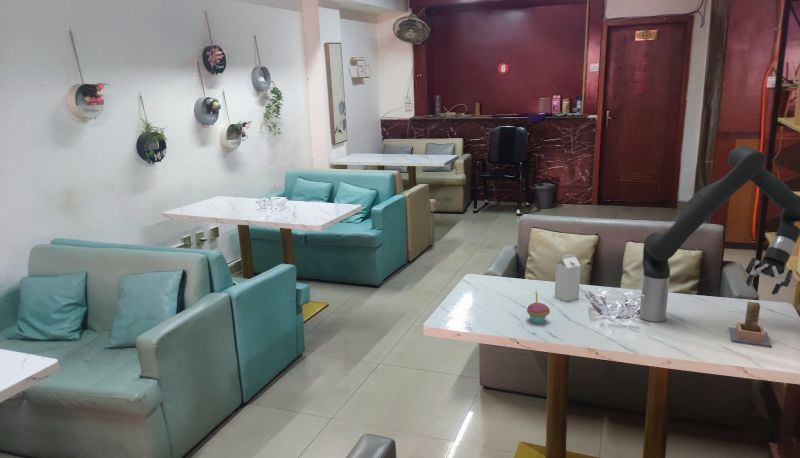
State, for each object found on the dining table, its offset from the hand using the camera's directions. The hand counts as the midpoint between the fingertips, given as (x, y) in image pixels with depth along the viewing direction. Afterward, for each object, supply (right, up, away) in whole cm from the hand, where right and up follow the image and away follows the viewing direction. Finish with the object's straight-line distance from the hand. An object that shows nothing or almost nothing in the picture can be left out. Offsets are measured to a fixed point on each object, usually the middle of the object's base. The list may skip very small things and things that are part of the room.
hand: (760, 289), depth 219 cm
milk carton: (-61, -7, +34) cm, 71 cm away
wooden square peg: (-8, -16, -7) cm, 19 cm away
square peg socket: (-8, -16, -7) cm, 19 cm away
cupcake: (-79, -13, +11) cm, 81 cm away
